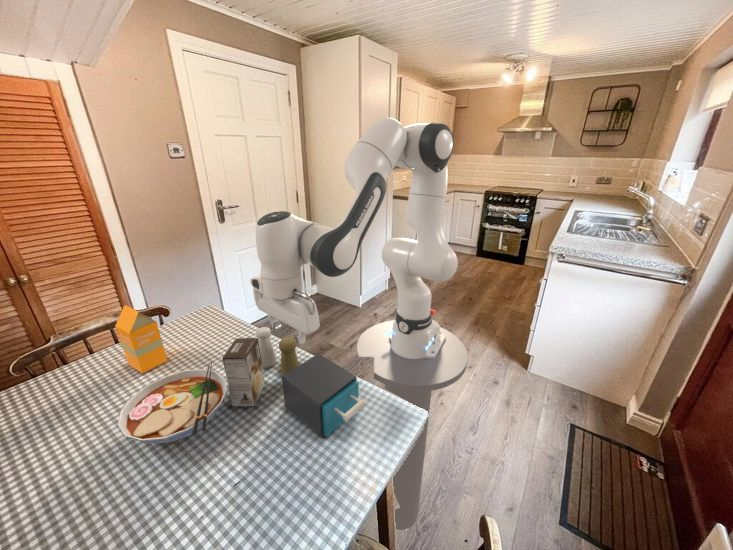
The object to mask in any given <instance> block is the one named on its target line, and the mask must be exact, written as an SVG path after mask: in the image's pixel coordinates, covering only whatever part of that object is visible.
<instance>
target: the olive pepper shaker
mask: <svg viewBox="0 0 733 550" xmlns="http://www.w3.org/2000/svg"><path fill="white" fill-rule="evenodd" d="M296 348H297V342H296V339H294V338H293V337H284V338H282V339H281V340H280V341H279V343H278V349H279V351H280V370H279V371H280V374H281V376H282V375H284V374H286V373H287V372H289V371H291V370H292V369H294V368H296V367H297V366H299V365H300V364H299V359H298V355H297V351H296Z"/></svg>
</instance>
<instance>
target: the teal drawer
mask: <svg viewBox="0 0 733 550" xmlns="http://www.w3.org/2000/svg"><path fill="white" fill-rule="evenodd" d="M366 405H367V403H366V401H365V400H364V399H363V398H362V399H359V382H358V381H357V380H356V381H354V382H352V383H351V384H350V385H347V386H346V387H345V388H344V389H342V390H341V391H340V392H338V393H337V394H336V395H334V396H333V397H332V398H331V399H329V400H328V401H327V402H325V403H324V404H323V405H322V420H323V434H324V435H325V436H324V437H328V436H330V435H331V434H332V433H333V432H334V431H335V430H336V429H337V428H338V427H340V426H341V425H342V424H343V423H344V422H348V421H350V420H351V419H352V418H353V417H354V416H355V415H356V414H357V413H358V412H360V411H361V410H362V409H363V408H364V407H365V406H366Z"/></svg>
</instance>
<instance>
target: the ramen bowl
mask: <svg viewBox="0 0 733 550" xmlns="http://www.w3.org/2000/svg"><path fill="white" fill-rule="evenodd" d="M212 365H213V362H212V361H211V362H209V363H208V366H207V369H204V368H197V369H185V370H181V371H179V372H175V373H172V374H168V375H165V376H163V377H161V378H160V379H157V380H155V381H152V382H150V383H149V384H147V385H145V386H144V387H143V388H142V389H140V390H139V391H138V392H137V393H135V394H134V395H133V396H131V398H130V399H129V400H128V401H127V402H126V404H125V405H124V406H123V407H122V409H121V410H120V413H119V417H118V422H117V426H118V428H119V429H120V430H121V432H122V433H123V434H122V435H124V436H125V437H127V438H128V439H130V440H135V441H138V442H142V443H146V444H150V445H154V444H166V443H174V442H177V441H178V440H181V439H184V438H186V437H189V436H191V435H192V434H193V435H194V434H197V433H198V430H200V429H201V431H202V432H205V431H206V430H207V423H209V421H210V420H211V419H212V418H213V417H214V416H215V414H216V413H217V412H218V411H219V409H220V408H221V406H222V403H223V400H224V398H225V395H226V393H227V391H228V385H227V381H226V378H225V377H224V376H223V375H221V374H220V373H219V372H217V371H215V370H212V367H213V366H212Z"/></svg>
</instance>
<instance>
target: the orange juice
mask: <svg viewBox="0 0 733 550" xmlns="http://www.w3.org/2000/svg"><path fill="white" fill-rule="evenodd" d="M114 327H115V329H116V333H117V335H118V338H119V341H120V344H121V348H122V350H123V353H124V355H125V358H126V361H127V364H128V365H129V366H130V367H132V368H133V369H135V370H137V371H138V372H139V373H141V374H145V373H146V372H148V371H150V370H152V369H155V368H156V367H158V366H160V365H162V364H164V363H165V362H167V361H168V357H167V353H166V351H165V347H164V343H163V339H162V337H161V333H160V330H159V326H158V322H157V321H156V320H154V319H153V318H151V317H149V316H147V315H146V314H144V313H142V312H141V311H138V310H137V309H135V308H132V307H130V306H128V305H126V304H124V305H123V307H122V309H121V312H120V314H119V316H118V319H117V321H116V323H115V325H114Z"/></svg>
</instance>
